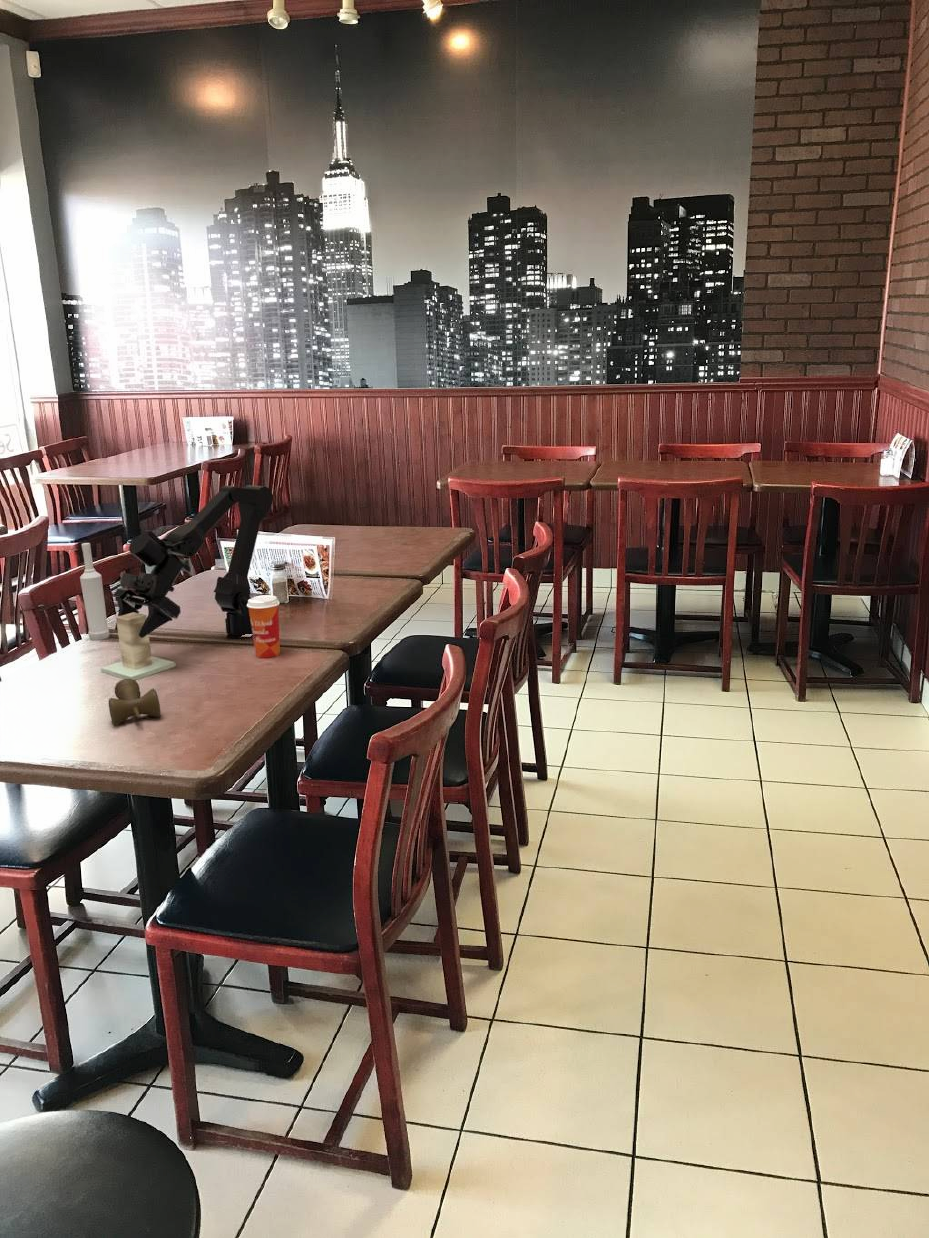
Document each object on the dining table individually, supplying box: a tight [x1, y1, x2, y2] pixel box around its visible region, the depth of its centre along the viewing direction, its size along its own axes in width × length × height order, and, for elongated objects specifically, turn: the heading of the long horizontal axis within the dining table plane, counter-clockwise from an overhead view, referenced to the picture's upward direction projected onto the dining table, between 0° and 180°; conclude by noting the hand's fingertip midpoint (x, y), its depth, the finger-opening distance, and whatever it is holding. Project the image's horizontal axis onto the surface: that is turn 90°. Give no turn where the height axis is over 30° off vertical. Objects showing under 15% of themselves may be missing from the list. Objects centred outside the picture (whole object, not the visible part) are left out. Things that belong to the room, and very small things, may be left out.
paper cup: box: [247, 594, 281, 659], centre depth 240 cm, size 8×8×14 cm
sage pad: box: [100, 655, 176, 681], centre depth 234 cm, size 12×12×1 cm
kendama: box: [108, 678, 161, 726], centre depth 206 cm, size 6×10×20 cm
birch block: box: [115, 612, 153, 670], centre depth 233 cm, size 5×5×12 cm
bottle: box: [79, 542, 110, 641], centre depth 258 cm, size 5×5×25 cm
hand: (128, 633), depth 231 cm, fingers open, 9 cm apart
